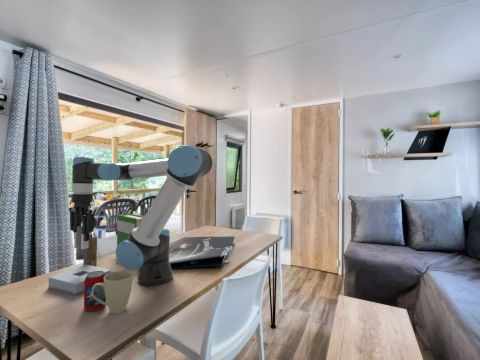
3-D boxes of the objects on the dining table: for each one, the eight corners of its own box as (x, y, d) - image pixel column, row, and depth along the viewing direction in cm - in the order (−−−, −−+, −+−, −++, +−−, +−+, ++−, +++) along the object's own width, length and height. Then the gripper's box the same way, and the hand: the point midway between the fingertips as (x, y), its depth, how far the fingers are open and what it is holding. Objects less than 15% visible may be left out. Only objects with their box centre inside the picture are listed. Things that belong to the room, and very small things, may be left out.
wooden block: (96, 264, 127) (97, 229, 127) (90, 271, 117) (91, 234, 117) (88, 264, 126) (89, 230, 126) (82, 272, 116) (82, 235, 115)
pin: (87, 257, 105) (88, 225, 104) (79, 260, 101) (80, 227, 101) (82, 256, 106) (82, 224, 106) (73, 259, 103) (74, 226, 102)
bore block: (110, 279, 108) (111, 269, 108) (75, 295, 93) (75, 284, 93) (85, 274, 114) (85, 264, 114) (48, 288, 99) (48, 277, 99)
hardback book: (146, 259, 136) (147, 216, 135) (134, 263, 130) (135, 218, 129) (128, 253, 146) (129, 213, 145) (116, 256, 140) (117, 214, 139)
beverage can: (89, 314, 81) (90, 279, 81) (79, 308, 85) (80, 274, 84) (109, 306, 87) (110, 272, 87) (99, 300, 90) (100, 268, 90)
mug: (117, 300, 91) (118, 268, 91) (137, 306, 87) (138, 273, 87) (89, 315, 81) (90, 279, 81) (110, 323, 77) (111, 285, 77)
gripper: (104, 193, 104) (103, 248, 104) (77, 191, 110) (76, 243, 110) (88, 194, 97) (86, 253, 97) (60, 192, 103) (59, 247, 103)
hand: (81, 247), depth 104 cm, fingers closed on pin, 3 cm apart
